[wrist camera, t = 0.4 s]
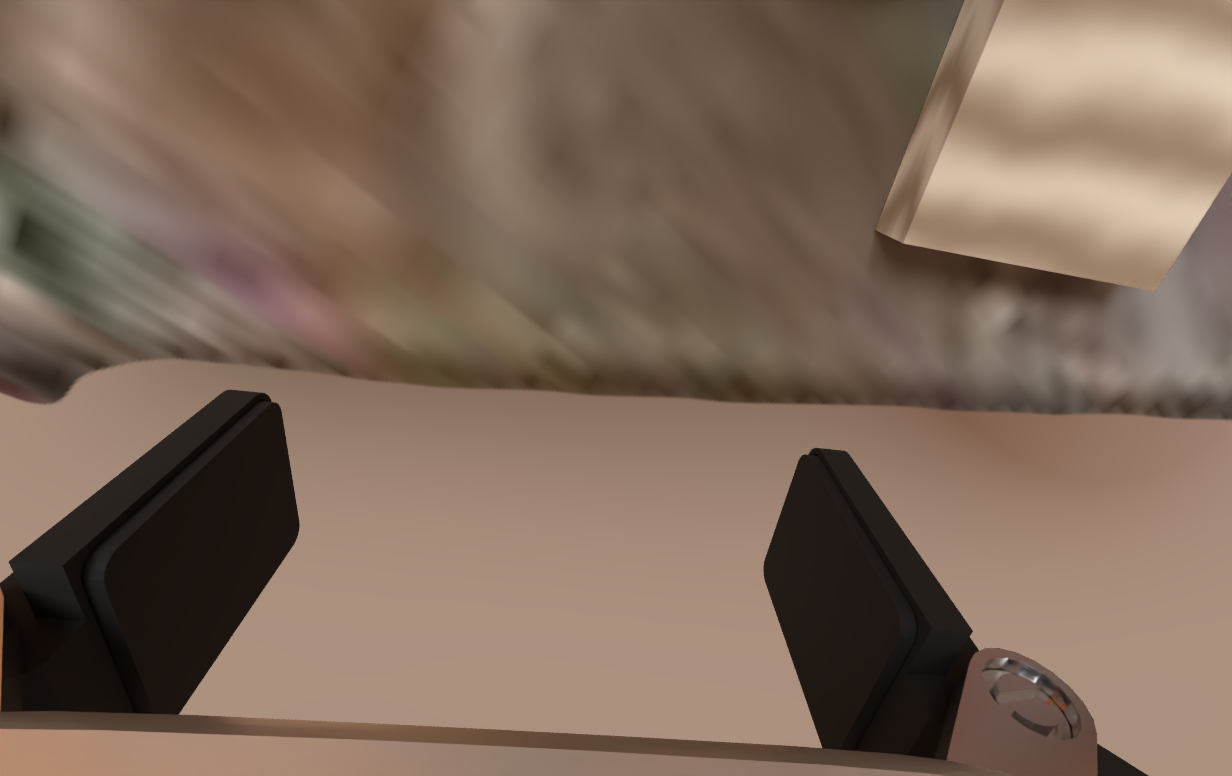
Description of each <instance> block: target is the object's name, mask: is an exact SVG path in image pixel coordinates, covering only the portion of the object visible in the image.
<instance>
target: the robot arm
mask: <svg viewBox="0 0 1232 776" xmlns="http://www.w3.org/2000/svg"><path fill="white" fill-rule="evenodd" d="M298 532H299V517H298V511H297V505H296V499H295V492H294V486H293V480H292V474H291V468H290V461H289V455H288V449H287V443H286V436H285V430H284V424H283V418H282V412H281V408H280V406H279V405H278V404H277V403H274V402H271V399H270V397H269V396H268V395H267V394H265V393H258V392H248V391H237V390H227V391H225V392H223V393H222V394H220V395H219V396H218V397H216V398H215V399H214V400H212V402H210V403H209V404H207V405H206V406H205V407H204V408H202V409H201V410H200V411H199V412H197V413H196V414H195V415H194V416H192V417H191V418H190V419H189V420H187V421H186V422H185V423H183V424H182V425H181V426H180V427H178V428H177V429H176V430H174V431H173V432H172V433H171V434H169V435H168V436H167V437H166V438H164V439H163V440H162V441H161V442H159V443H158V444H157V445H156V446H154V447H153V448H152V449H151V450H149V451H148V452H147V453H145V454H144V455H143V456H142V457H140V458H139V459H138V460H137V461H135V462H134V463H133V464H131V465H130V466H129V467H128V468H126V469H125V470H124V471H123V472H121V473H120V474H119V475H118V476H116V477H115V478H114V479H113V480H111V481H110V482H109V483H107V484H106V485H105V486H104V487H102V488H101V489H100V490H99V491H97V492H96V493H95V494H94V495H92V496H91V497H90V498H89V499H87V500H86V501H85V502H83V503H82V504H81V505H80V506H78V507H77V508H76V509H75V510H73V511H72V512H71V513H69V514H68V515H67V516H66V517H65V518H63V519H62V520H61V521H59V522H58V523H57V524H56V525H54V526H53V527H52V528H51V529H49V530H48V531H47V532H46V533H44V534H43V535H42V536H40V537H39V538H38V539H37V540H35V541H34V542H33V543H32V544H31V545H29V546H28V547H26V548H25V549H24V550H23V551H21V552H20V553H19V554H18V555H16V556H15V557H14V558H13V559H11V560H10V561H9V564H10V566H11V568H12V570H13V573H12V574H11V575H10V576H8V577H7V578H6V579H5V580H3V581H2V582H1V583H0V776H1148V775H1146V774H1145V773H1143V772H1142V771H1140V770H1138V769H1137V768H1135V767H1134V766H1132V765H1130V764H1129V763H1127V762H1126V761H1124V760H1123V759H1121V758H1119V757H1118V756H1116V755H1115V754H1113V753H1111V752H1110V751H1108V750H1107V749H1105V748H1103V747H1102V746H1100V745H1099V744H1097V732H1096V728H1095V724H1094V720H1093V718H1092V716H1091V714H1090V713H1089V711H1088V709H1087V707H1086V706H1085V704H1084V703H1083V701H1082V700H1081V699H1080V698H1079V697H1078V696H1077V695H1076V693H1075V692H1074V691H1073V690H1072V689H1071V688H1070V687H1069V686H1068V685H1067V684H1066V683H1065V682H1063V681H1062V680H1061V679H1060V678H1059V677H1058V676H1056V675H1055V674H1054V673H1053V672H1051V671H1050V670H1048V669H1047V668H1045V667H1043V666H1042V665H1040V664H1039V663H1037V662H1035V661H1034V660H1032V659H1029V658H1027V657H1025V656H1023V655H1021V654H1018V653H1016V652H1012V651H1008V650H1004V649H1000V648H986V649H983V650H981V651H979V650H978V649H977V647H976V646H975V644H974V643H973V641H972V640H971V638H970V635H971V633H972V632H973V631H972V629H971V628H970V626H969V625H968V623H967V622H966V621H965V619H964V618H963V616H962V615H961V613H960V612H959V611H958V609H957V608H956V606H955V605H954V603H953V602H952V601H951V600H950V598H949V596H948V595H947V593H946V592H945V591H944V589H943V588H942V586H941V585H940V583H939V582H938V581H937V579H936V578H935V576H934V575H933V573H932V572H931V571H930V569H929V568H928V566H927V565H926V563H925V562H924V561H923V559H922V558H921V556H920V555H919V554H918V552H917V551H916V549H915V548H914V546H913V545H912V544H911V542H910V541H909V539H908V538H907V536H906V535H905V534H904V532H903V531H902V529H901V528H900V526H899V525H898V523H897V522H896V521H895V519H894V518H893V516H892V515H891V513H890V512H889V511H888V509H887V508H886V506H885V505H884V504H883V502H882V501H881V499H880V498H879V496H878V495H877V494H876V492H875V491H874V489H873V488H872V486H871V485H870V484H869V482H868V481H867V479H866V478H865V476H864V475H863V473H862V472H861V471H860V469H859V468H858V466H857V465H856V463H855V462H854V461H853V459H852V458H851V457H850V455H849V454H848V453H847V452H846V451H840V450H831V449H821V448H814V449H812V450H811V452H810V453H809V455H802V456H801V458H800V459H799V461H798V464H797V467H796V470H795V473H794V476H793V479H792V482H791V485H790V488H789V491H788V494H787V497H786V499H785V502H784V505H783V508H782V511H781V514H780V517H779V520H778V523H777V526H776V529H775V531H774V535H773V537H772V540H771V543H770V546H769V549H768V552H767V555H766V558H765V561H764V578H765V582H766V585H767V588H768V591H769V594H770V597H771V600H772V603H773V606H774V608H775V611H776V614H777V617H778V620H779V623H780V626H781V629H782V632H783V634H784V637H785V640H786V643H787V646H788V649H789V652H790V655H791V658H792V661H793V663H794V667H795V669H796V672H797V675H798V678H799V681H800V684H801V687H802V690H803V693H804V695H805V699H806V701H807V704H808V707H809V710H810V713H811V716H812V719H813V722H814V725H815V728H816V731H817V733H818V736H819V739H820V742H821V745H822V748H809V747H797V746H782V745H764V744H763V745H762V744H747V743H730V742H728V743H727V742H712V741H694V740H677V739H660V738H641V737H624V736H607V735H587V734H569V733H550V732H531V731H511V730H493V729H473V728H453V727H434V726H433V727H432V726H414V725H413V726H412V725H394V724H373V723H352V722H330V721H329V722H328V721H308V720H307V721H306V720H286V719H264V718H242V717H221V716H198V715H178V714H179V713H180V712H181V710H182V709H183V707H184V706H185V704H186V703H187V701H188V700H189V698H190V697H191V695H192V694H193V692H194V691H195V690H196V688H197V686H198V685H199V683H200V682H201V681H202V679H203V678H204V676H205V675H206V673H207V672H208V670H209V669H210V667H211V666H212V664H213V663H214V662H215V660H216V659H217V657H218V656H219V654H220V653H221V651H222V650H223V648H224V647H225V645H226V644H227V642H228V641H229V639H230V638H231V636H232V635H233V633H234V632H235V630H236V629H237V627H238V626H239V625H240V623H241V622H242V620H243V619H244V617H245V616H246V614H247V613H248V611H249V610H250V608H251V607H252V605H253V604H254V602H255V601H256V599H257V598H258V596H259V595H260V593H261V592H262V591H263V589H264V588H265V586H266V585H267V583H268V582H269V580H270V579H271V577H272V576H273V574H274V573H275V572H276V570H277V569H278V567H279V565H280V564H281V563H282V561H283V560H284V558H285V557H286V555H287V554H288V552H289V551H290V549H291V548H292V546H293V545H294V543H295V541H296V539H297V536H298Z"/></svg>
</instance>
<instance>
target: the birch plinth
mask: <svg viewBox="0 0 1232 776" xmlns="http://www.w3.org/2000/svg"><path fill="white" fill-rule="evenodd" d="M1231 173H1232V0H964V3H963V5H962V8H961V11H960V13H959V16H958V18H957V21H956V23H955V26H954V29H953V31H952V34H951V36H950V39H949V41H948V44H947V47H946V49H945V52H944V54H943V57H942V59H941V62H940V65H939V67H938V70H937V72H936V75H935V77H934V80H933V82H932V85H931V88H930V90H929V93H928V95H927V98H926V100H925V103H924V106H923V108H922V111H921V113H920V116H919V118H918V121H917V124H916V126H915V129H914V131H913V134H912V136H911V139H910V142H909V144H908V147H907V149H906V152H905V154H904V157H903V160H902V162H901V165H900V167H899V170H898V172H897V175H896V178H895V180H894V183H893V185H892V188H891V190H890V193H889V195H888V198H887V201H886V203H885V206H884V208H883V211H882V213H881V216H880V219H879V221H878V224H877V226H876V229H875V230H876V231H878V232H880V233H882V234H885V235H887V236H889V237H891V238H893V239H895V240H897V241H899V242H901V243H904V244H909V245H914V246H919V247H924V248H930V249H935V250H940V251H945V252H951V253H956V254H961V255H966V256H972V257H977V258H982V259H987V260H993V261H998V262H1003V263H1008V264H1014V265H1019V266H1024V267H1029V268H1034V269H1040V270H1045V271H1050V272H1055V273H1061V274H1066V275H1071V276H1076V277H1082V278H1087V279H1092V280H1097V281H1103V282H1108V283H1113V284H1118V285H1123V286H1129V287H1134V288H1139V289H1144V290H1150V291H1156V289H1157V288H1158V286H1159V285H1160V283H1161V281H1162V280H1163V278H1164V277H1165V275H1166V274H1167V272H1168V271H1169V269H1170V268H1171V266H1172V264H1173V263H1174V261H1175V260H1176V258H1177V257H1178V255H1179V254H1180V252H1181V250H1182V249H1183V247H1184V246H1185V244H1186V243H1187V241H1188V240H1189V238H1190V237H1191V235H1192V233H1193V232H1194V230H1195V229H1196V227H1197V226H1198V224H1199V223H1200V221H1201V219H1202V218H1203V216H1204V215H1205V213H1206V212H1207V210H1208V209H1209V207H1210V206H1211V204H1212V202H1213V201H1214V199H1215V198H1216V196H1217V195H1218V193H1219V192H1220V190H1221V188H1222V187H1223V185H1224V184H1225V182H1226V181H1227V179H1228V178H1229V176H1230V175H1231Z"/></svg>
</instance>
